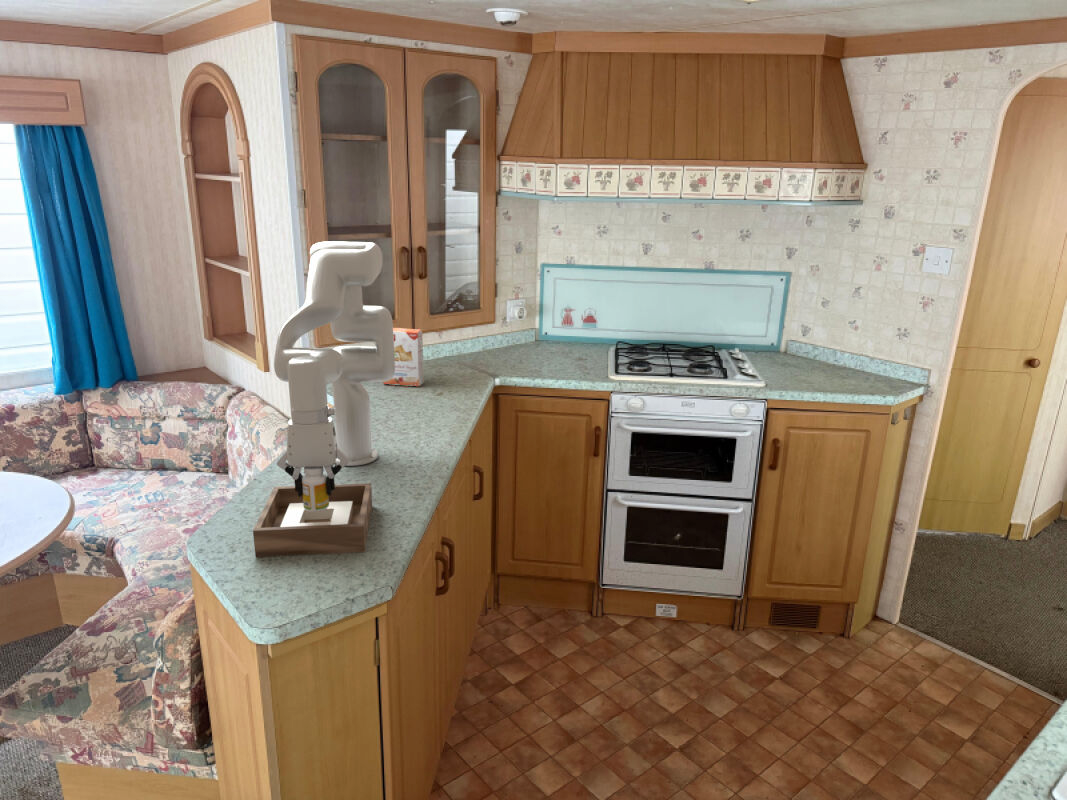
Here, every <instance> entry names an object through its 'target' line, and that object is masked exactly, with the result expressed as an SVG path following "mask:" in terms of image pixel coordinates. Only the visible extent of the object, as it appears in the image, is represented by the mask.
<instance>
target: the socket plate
mask: <svg viewBox="0 0 1067 800" xmlns="http://www.w3.org/2000/svg"><path fill="white" fill-rule="evenodd" d="M352 514H353V501H341V502H329V507H328V508H327V509H325V510H323V511H319V512H308V511H306V510H305V509H304V505H303V503H290V504H289V507H288V509H287V512H286V514H285V516H284V519H283V521H282V524H281V526H280V527H292V526H315V525H339V524H350V523H351V519H352ZM316 519H331V522H315V523H304V521H305V520H316Z"/></svg>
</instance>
